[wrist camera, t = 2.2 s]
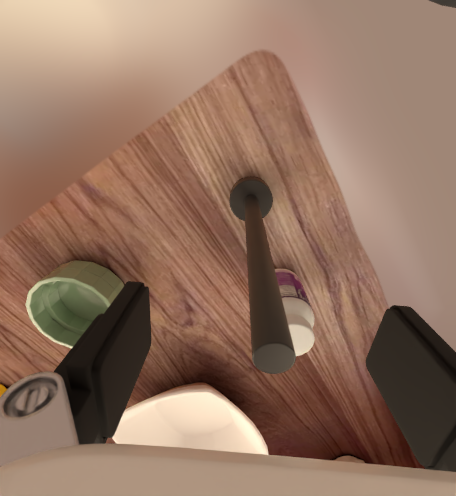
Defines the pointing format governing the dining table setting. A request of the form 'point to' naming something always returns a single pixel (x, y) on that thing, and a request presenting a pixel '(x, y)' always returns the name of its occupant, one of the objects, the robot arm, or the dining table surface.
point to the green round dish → (71, 300)
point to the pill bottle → (296, 310)
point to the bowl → (190, 422)
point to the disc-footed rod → (262, 280)
